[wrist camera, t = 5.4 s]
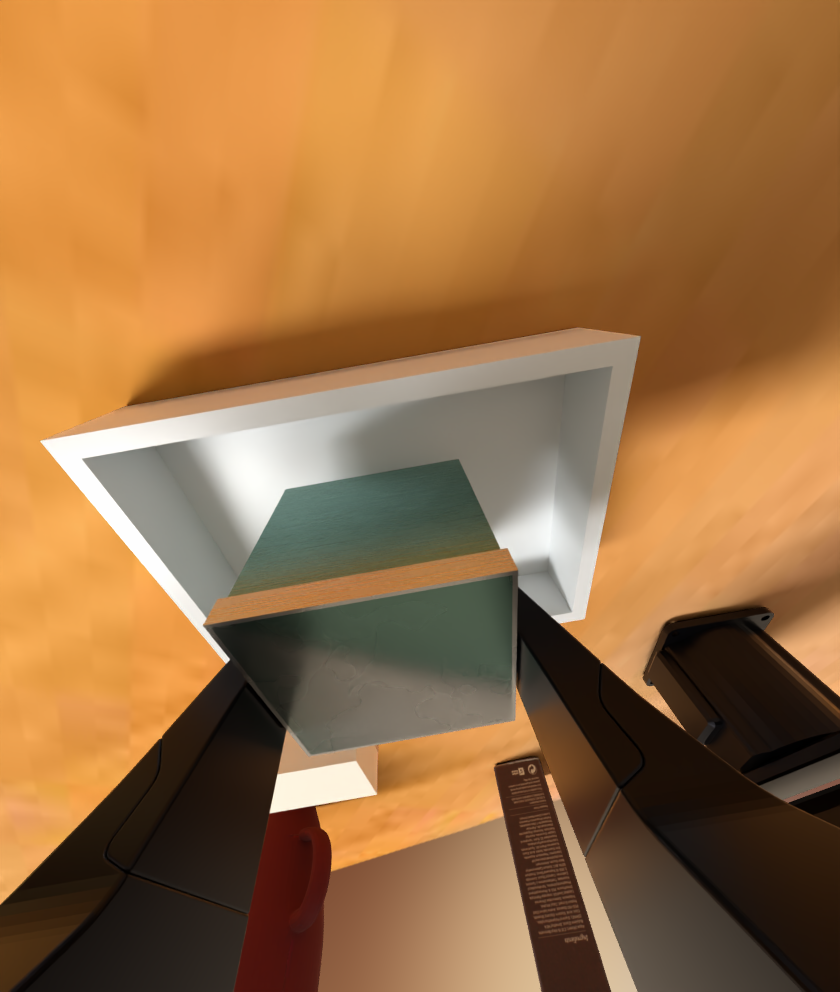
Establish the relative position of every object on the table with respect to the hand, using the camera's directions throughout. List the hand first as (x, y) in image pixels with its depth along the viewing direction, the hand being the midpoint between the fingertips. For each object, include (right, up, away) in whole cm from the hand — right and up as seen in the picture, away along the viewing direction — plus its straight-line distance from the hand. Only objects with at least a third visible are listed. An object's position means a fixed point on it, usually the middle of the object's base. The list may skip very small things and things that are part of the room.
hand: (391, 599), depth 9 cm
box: (+10, -23, +21) cm, 33 cm away
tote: (-1, +3, +4) cm, 5 cm away
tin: (0, +1, +2) cm, 3 cm away
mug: (-10, -24, +20) cm, 33 cm away
